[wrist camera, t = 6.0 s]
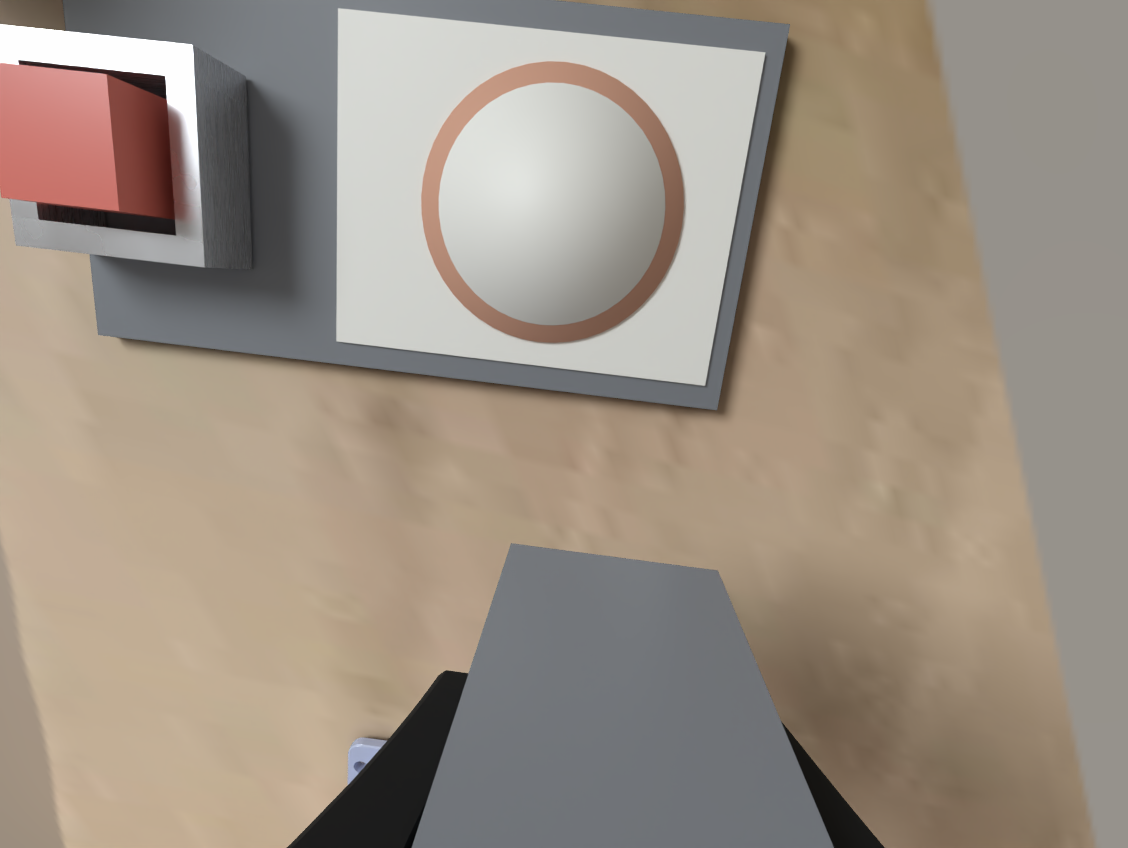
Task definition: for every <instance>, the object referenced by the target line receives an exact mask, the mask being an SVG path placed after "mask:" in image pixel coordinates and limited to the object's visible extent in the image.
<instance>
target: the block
mask: <svg viewBox="0 0 1128 848" xmlns="http://www.w3.org/2000/svg"><path fill="white" fill-rule="evenodd" d="M412 848H834V847H833V844H832V842H831V840H830V837H829V835H828V832H827V830H826V828H825V825H824V823H823V820H822V818H821V816H820V813H819V811H818V809H817V806H816V804H815V801H814V799H813V797H812V794H811V792H810V789H809V787H808V785H807V782H806V780H805V778H804V775H803V773H802V770H801V768H800V766H799V763H798V761H797V758H796V756H795V754H794V751H793V749H792V746H791V744H790V742H789V739H788V737H787V735H786V732H785V730H784V727H783V725H782V723H781V720H780V718H779V715H778V713H777V711H776V708H775V706H774V703H773V701H772V699H771V696H770V694H769V692H768V689H767V687H766V684H765V682H764V680H763V677H762V675H761V672H760V670H759V668H758V665H757V663H756V661H755V658H754V656H753V653H752V651H751V649H750V646H749V644H748V641H747V639H746V637H745V634H744V632H743V629H742V627H741V625H740V622H739V620H738V618H737V615H736V613H735V610H734V608H733V606H732V603H731V601H730V598H729V596H728V594H727V591H726V589H725V586H724V584H723V582H722V579H721V577H720V575H719V572H718V571H717V570H709V569H702V568H694V567H686V566H679V565H671V564H664V563H656V562H649V561H641V560H633V559H626V558H618V557H611V556H603V555H595V554H588V553H580V552H573V551H565V550H557V549H550V548H542V547H535V546H527V545H519V544H512V543H511V546H510V549H509V552H508V555H507V558H506V561H505V564H504V567H503V570H502V573H501V576H500V579H499V582H498V585H497V588H496V591H495V594H494V598H493V601H492V604H491V607H490V610H489V613H488V616H487V619H486V622H485V625H484V628H483V631H482V634H481V637H480V640H479V643H478V646H477V649H476V653H475V656H474V659H473V662H472V665H471V668H470V671H469V674H468V677H467V680H466V683H465V686H464V689H463V692H462V695H461V698H460V701H459V704H458V708H457V711H456V714H455V717H454V720H453V723H452V726H451V729H450V732H449V735H448V738H447V741H446V744H445V747H444V750H443V753H442V756H441V759H440V763H439V766H438V769H437V772H436V775H435V778H434V781H433V784H432V787H431V790H430V793H429V796H428V799H427V802H426V805H425V808H424V811H423V814H422V818H421V821H420V824H419V827H418V830H417V833H416V836H415V839H414V842H413V845H412Z"/></svg>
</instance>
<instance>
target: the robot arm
mask: <svg viewBox="0 0 1128 848" xmlns="http://www.w3.org/2000/svg"><path fill="white" fill-rule="evenodd" d="M467 677H468V673H461V672H454V671H447V670H446V671H444V672H443V673H441V674H440V675H439V676H438V677H437V678H436V680H435V681H434V683H433V684H432V685H431V687H430V688H429V689H428V691H427V692H426V693H425V695H424V696H423V697H422V699H421V700H420V701H419V703H418V704H417V705H416V706H415V708H414V709H413V710H412V711H411V713H410V714H409V715H408V716H407V718H406V719H405V720H404V721H403V723H402V724H401V725H400V726H399V727H398V729H397V730H396V731H395V732H394V733H393V735H392V736H391V737H390V738H389V739H388V741H386V740H379V739H371V738H358V739H356V740H355V741H354V742H353V743H352V745H351V747H350V749H349V752H348V786H347V787H346V788H345V789H344V790H343V791H342V792H341V793H340V794H339V795H338V796H337V797H336V798H335V799H334V800H333V801H332V802H331V803H330V804H329V805H328V806H327V807H326V808H325V809H324V811H323V812H322V813H321V814H320V815H319V816H318V817H317V818H316V819H315V820H314V821H313V822H312V823H311V824H310V825H309V826H308V827H307V828H306V829H305V830H304V831H303V832H302V833H301V834H300V835H299V836H298V837H297V838H296V839H295V840H294V841H293V842H292V843H291V844H290V845H289V846H288V847H287V848H412V845H413V842H414V839H415V836H416V833H417V830H418V827H419V824H420V821H421V818H422V814H423V811H424V808H425V805H426V802H427V799H428V796H429V793H430V790H431V787H432V784H433V781H434V778H435V775H436V772H437V769H438V766H439V763H440V759H441V756H442V753H443V750H444V747H445V744H446V741H447V738H448V735H449V732H450V729H451V726H452V723H453V720H454V717H455V714H456V711H457V708H458V704H459V701H460V698H461V695H462V692H463V689H464V686H465V683H466V680H467ZM781 723H782V722H781ZM782 725H783V727H784V730H785V732H786V735H787V737H788V739H789V742H790V744H791V746H792V749H793V751H794V754H795V756H796V758H797V761H798V763H799V766H800V768H801V770H802V773H803V775H804V778H805V780H806V782H807V785H808V787H809V789H810V792H811V794H812V797H813V799H814V801H815V804H816V806H817V809H818V811H819V813H820V816H821V818H822V820H823V823H824V825H825V828H826V830H827V832H828V835H829V837H830V840H831V842H832V844H833V847H834V848H884V846H883V845H882V844H881V843H880V842H879V841H878V839H877V838H876V837H875V836H874V835H873V833H872V832H871V831H870V830H869V829H868V827H867V826H866V825H865V824H864V823H863V822H862V820H861V819H860V818H859V817H858V815H857V814H856V813H855V812H854V811H853V809H852V808H851V807H850V806H849V805H848V803H847V802H846V801H845V800H844V798H843V797H842V796H841V795H840V794H839V792H838V791H837V790H836V789H835V787H834V786H833V785H832V784H831V782H830V781H829V780H828V779H827V778H826V776H825V775H824V774H823V773H822V771H821V770H820V769H819V768H818V766H817V765H816V764H815V763H814V761H813V760H812V759H811V758H810V756H809V755H808V754H807V753H806V751H805V750H804V749H803V748H802V746H801V745H800V744H799V743H798V741H797V740H796V739H795V738H794V736H793V735H792V734H791V733H790V731H789V730H788V729H787V728H786V727H785V725H784V724H783V723H782ZM360 761H361V762H364V763H365V764H364V763H361V762H360Z"/></svg>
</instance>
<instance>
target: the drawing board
mask: <svg viewBox="0 0 1128 848" xmlns="http://www.w3.org/2000/svg"><path fill="white" fill-rule="evenodd" d="M63 9H64V19H65V28H66V31H67V32H76V33H85V34H95V35H104V36H114V37H123V38H133V39H142V40H151V41H161V42H170V43H180V44H189V45H194V46H195V47H197V48H199V49H200V50H202V51H204V52H205V53H207V54H209V55H211V56H212V57H214V58H216V59H217V60H219V61H221V62H222V63H224V64H226V65H228V66H229V67H231V68H233V69H234V70H236V71H238V72H239V73H241V74H243V75H245V76H246V92H247V122H248V152H249V182H250V213H251V243H252V269H230V268H205V267H196V266H188V265H179V264H171V263H162V262H154V261H145V260H137V259H128V258H120V257H111V256H103V255H94V254H90V263H91V273H92V282H93V291H94V301H95V310H96V320H97V329H98V335H103V336H111V337H120V338H128V339H136V340H144V341H153V342H161V343H169V344H177V345H185V346H194V347H202V348H210V349H218V350H226V351H235V352H243V353H251V354H259V355H268V356H276V357H284V358H292V359H300V360H309V361H317V362H325V363H333V364H341V365H350V366H358V367H366V368H374V369H383V370H391V371H399V372H407V373H415V374H424V375H432V376H440V377H448V378H456V379H465V380H473V381H481V382H489V383H497V384H506V385H514V386H522V387H530V388H539V389H547V390H555V391H563V392H571V393H580V394H588V395H596V396H604V397H612V398H621V399H629V400H637V401H645V402H654V403H662V404H670V405H678V406H686V407H695V408H703V409H711V410H717V408H718V402H719V397H720V392H721V386H722V381H723V376H724V371H725V365H726V360H727V355H728V349H729V344H730V339H731V334H732V328H733V323H734V318H735V312H736V307H737V302H738V297H739V291H740V286H741V281H742V275H743V270H744V265H745V260H746V254H747V249H748V244H749V239H750V233H751V228H752V223H753V217H754V212H755V207H756V202H757V196H758V191H759V186H760V180H761V175H762V170H763V165H764V159H765V154H766V149H767V143H768V138H769V133H770V128H771V122H772V117H773V112H774V106H775V101H776V96H777V91H778V85H779V80H780V75H781V69H782V64H783V59H784V54H785V48H786V43H787V38H788V33H789V27H790V24H781V23H772V22H762V21H752V20H742V19H732V18H723V17H713V16H703V15H693V14H683V13H673V12H664V11H654V10H644V9H634V8H624V7H615V6H605V5H595V4H585V3H575V2H566V1H556V0H63ZM159 97H162V98H164V99H166V100H167V97H165V96H159ZM105 215H106V225H107V228H116V229H125V230H133V231H142V232H151V233H159V234H168V235H176V227H175V220H173V219H164V218H155V217H147V216H138V215H129V214H121V213H112V212H105Z"/></svg>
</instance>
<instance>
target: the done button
mask: <svg viewBox="0 0 1128 848" xmlns="http://www.w3.org/2000/svg"><path fill="white" fill-rule="evenodd" d="M0 190H1V197H2V198H8V199H15V200H22V201H29V202H36V203H43V204H50V205H57V206H64V207H71V208H78V209H86V210H95V211H103V212H112V213H121V214H129V215H138V216H147V217H155V218H164V219H173V220H175V212H174V197H173V182H172V167H171V152H170V137H169V122H168V107H167V100H166V99H164V98H162V97H159V96H157V95H155V94H152V93H150V92H148V91H145V90H143V89H140V88H138V87H136V86H133V85H131V84H129V83H126V82H124V81H122V80H119V79H117V78H115V77H112V76H110V75H108V74H101V73H92V72H83V71H74V70H65V69H55V68H46V67H37V66H28V65H18V64H9V63H0Z"/></svg>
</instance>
